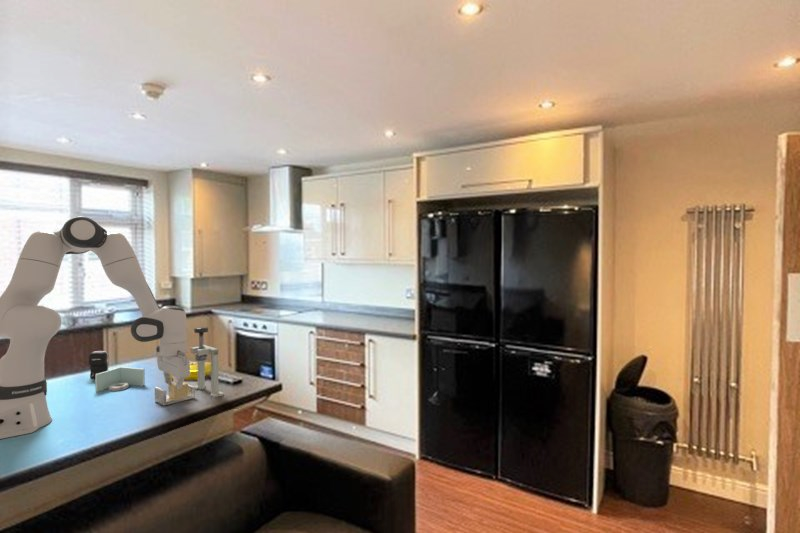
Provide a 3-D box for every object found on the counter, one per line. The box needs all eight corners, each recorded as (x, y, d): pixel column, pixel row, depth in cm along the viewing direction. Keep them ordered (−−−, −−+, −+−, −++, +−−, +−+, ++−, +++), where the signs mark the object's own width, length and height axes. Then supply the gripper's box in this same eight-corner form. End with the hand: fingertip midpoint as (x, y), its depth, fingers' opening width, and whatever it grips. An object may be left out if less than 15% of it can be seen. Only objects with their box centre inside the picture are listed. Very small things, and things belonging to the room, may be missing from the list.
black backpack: (87, 379, 193) (87, 353, 192) (92, 376, 197) (91, 351, 196) (105, 378, 194) (104, 352, 194) (109, 376, 198) (108, 350, 197)
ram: (198, 361, 172) (197, 329, 171) (192, 359, 175) (191, 328, 174) (210, 359, 176) (210, 328, 175) (204, 357, 179) (204, 326, 178)
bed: (163, 405, 161) (163, 391, 161) (154, 401, 166) (154, 387, 166) (195, 397, 170) (194, 384, 170) (185, 393, 175) (185, 380, 175)
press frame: (206, 399, 168) (206, 352, 168) (185, 390, 179) (184, 345, 179) (223, 395, 174) (223, 349, 173) (202, 386, 185) (201, 343, 184)
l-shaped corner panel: (95, 393, 177) (95, 374, 176) (121, 384, 188) (120, 366, 188) (120, 395, 174) (120, 376, 173) (144, 386, 185) (144, 368, 185)
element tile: (166, 380, 194) (165, 369, 193) (183, 370, 209) (183, 360, 208) (200, 381, 193) (199, 370, 193) (215, 371, 208) (215, 361, 208)
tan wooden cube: (187, 395, 169) (187, 382, 169) (174, 398, 165) (174, 385, 165) (182, 392, 172) (181, 379, 172) (168, 395, 169) (168, 382, 168)
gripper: (194, 352, 162) (194, 389, 162) (170, 344, 175) (170, 378, 176) (177, 354, 157) (177, 393, 158) (153, 346, 171) (153, 382, 171)
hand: (173, 385), depth 167 cm, fingers open, 8 cm apart
